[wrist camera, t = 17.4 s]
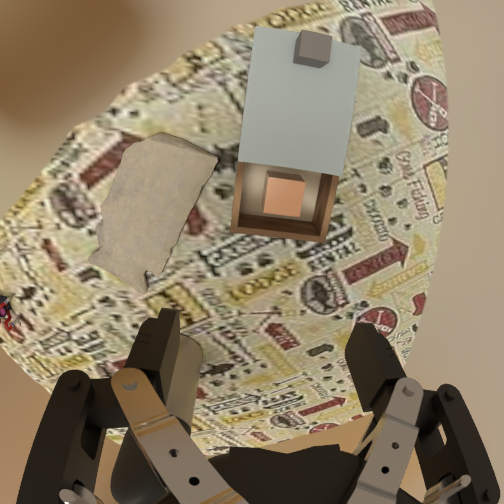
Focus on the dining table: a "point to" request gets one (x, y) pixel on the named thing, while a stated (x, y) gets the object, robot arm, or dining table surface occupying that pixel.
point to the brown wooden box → (273, 225)
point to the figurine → (7, 311)
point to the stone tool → (149, 206)
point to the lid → (299, 101)
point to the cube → (283, 193)
